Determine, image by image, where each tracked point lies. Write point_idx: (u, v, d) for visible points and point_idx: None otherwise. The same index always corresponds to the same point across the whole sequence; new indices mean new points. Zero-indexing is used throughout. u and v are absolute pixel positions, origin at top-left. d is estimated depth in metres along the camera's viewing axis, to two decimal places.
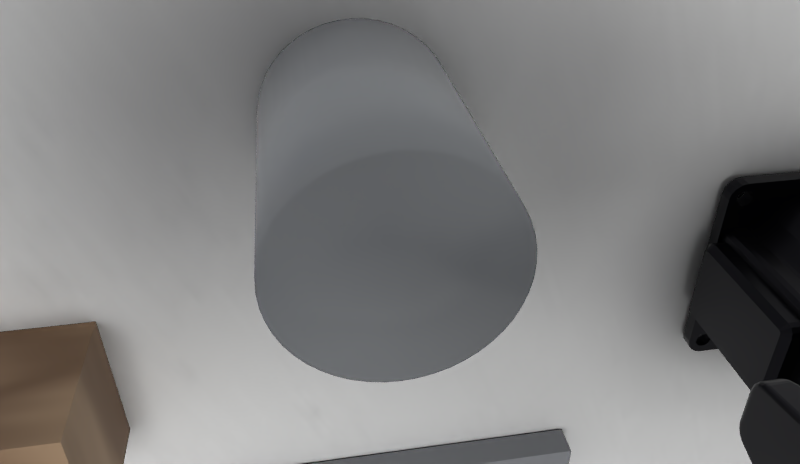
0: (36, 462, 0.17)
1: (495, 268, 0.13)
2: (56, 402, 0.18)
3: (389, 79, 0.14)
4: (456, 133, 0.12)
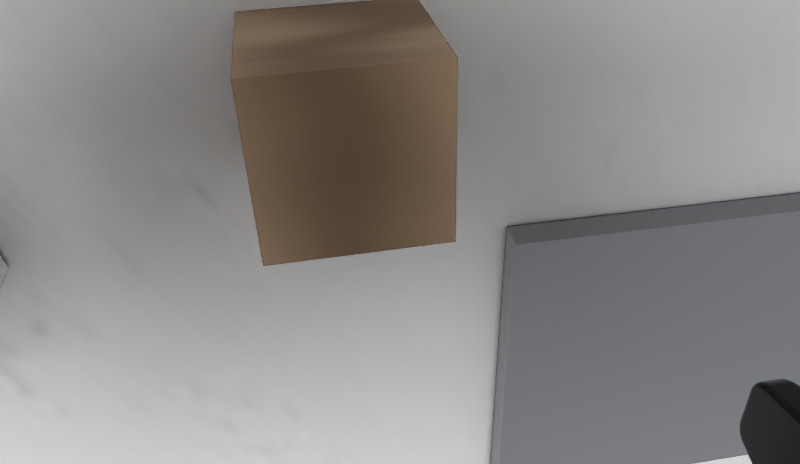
0: (423, 87, 0.15)
1: None
2: (425, 37, 0.15)
3: None
4: None
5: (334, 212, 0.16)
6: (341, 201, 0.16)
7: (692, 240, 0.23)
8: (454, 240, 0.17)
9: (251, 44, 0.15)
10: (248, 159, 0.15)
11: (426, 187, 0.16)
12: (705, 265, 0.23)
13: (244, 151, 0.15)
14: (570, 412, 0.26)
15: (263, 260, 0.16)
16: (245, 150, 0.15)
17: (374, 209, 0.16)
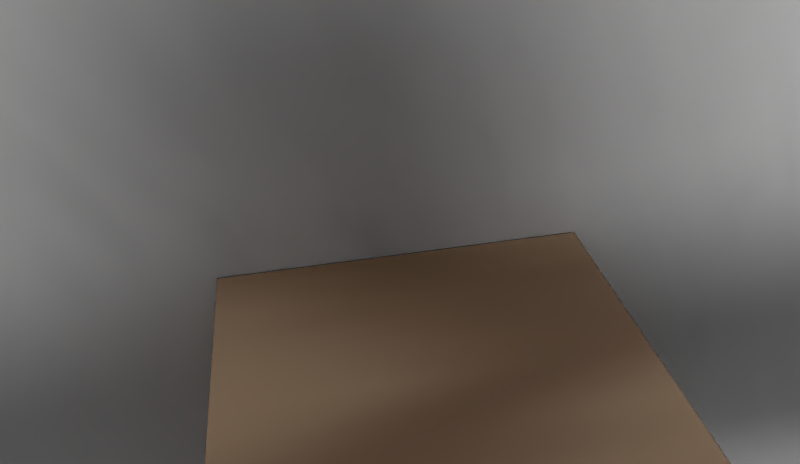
0: None
1: None
2: (660, 425, 0.07)
3: None
4: None
5: None
6: None
7: None
8: None
9: (250, 442, 0.07)
10: None
11: None
12: None
13: None
14: None
15: None
16: None
17: None
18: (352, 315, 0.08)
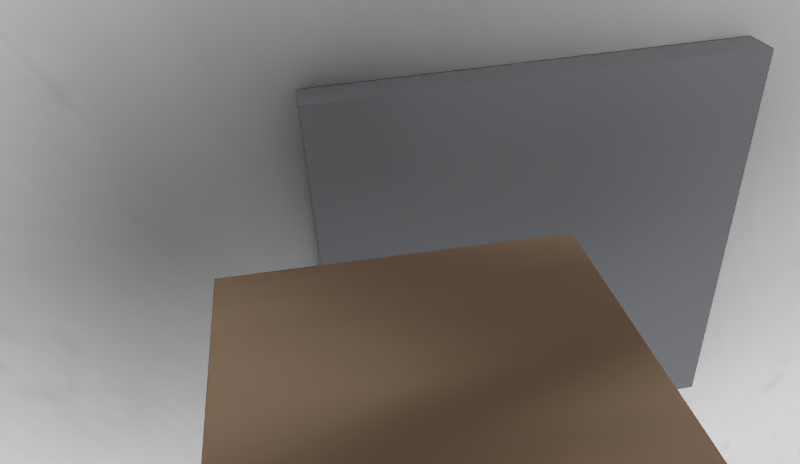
0: None
1: None
2: (657, 427, 0.07)
3: None
4: None
5: None
6: None
7: (536, 101, 0.18)
8: None
9: (246, 442, 0.07)
10: None
11: None
12: (559, 137, 0.18)
13: None
14: None
15: None
16: None
17: None
18: (349, 316, 0.08)
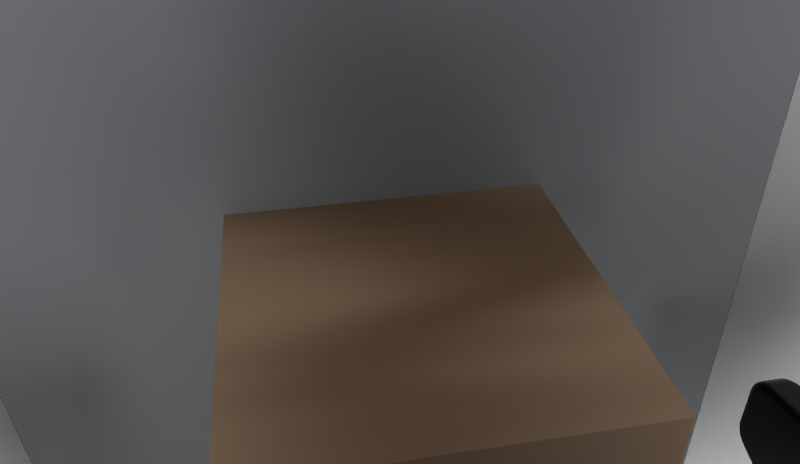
0: None
1: None
2: (600, 329, 0.08)
3: None
4: None
5: None
6: None
7: None
8: None
9: (253, 337, 0.08)
10: None
11: None
12: (415, 56, 0.09)
13: None
14: (189, 429, 0.12)
15: None
16: None
17: None
18: (342, 245, 0.09)
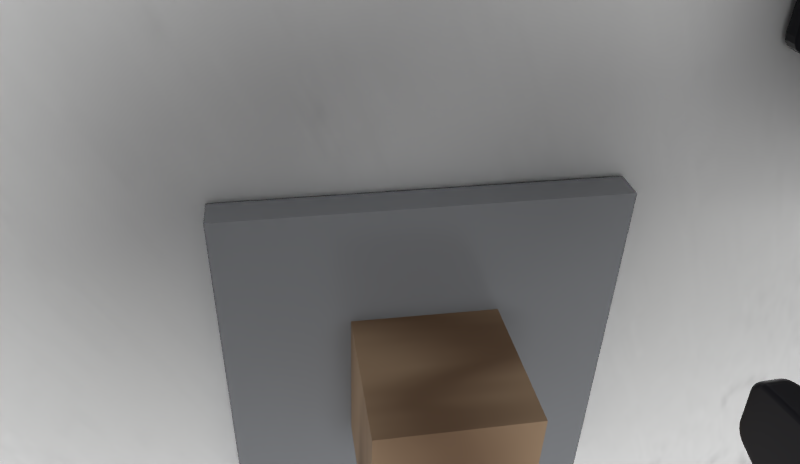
0: (518, 439, 0.18)
1: None
2: (517, 384, 0.19)
3: None
4: None
5: None
6: None
7: (422, 228, 0.20)
8: None
9: (377, 383, 0.19)
10: None
11: None
12: (444, 258, 0.21)
13: None
14: (315, 421, 0.23)
15: None
16: None
17: None
18: (407, 340, 0.21)
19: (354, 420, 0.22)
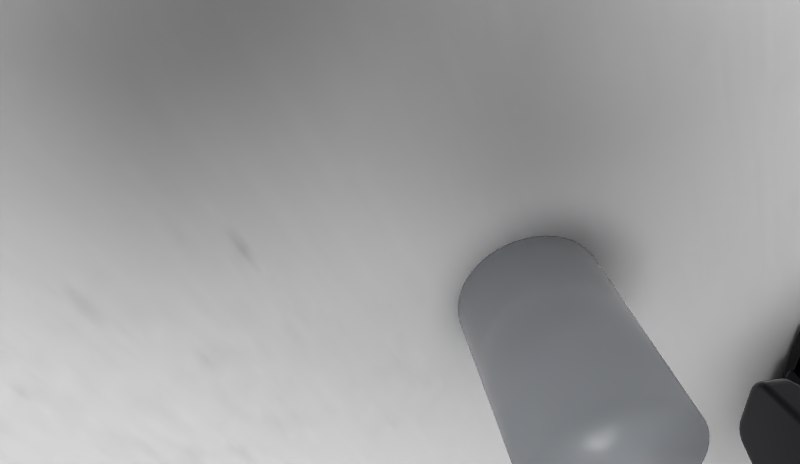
0: None
1: (680, 456, 0.19)
2: None
3: (594, 316, 0.20)
4: (655, 368, 0.18)
5: None
6: None
7: None
8: None
9: None
10: None
11: None
12: None
13: None
14: None
15: None
16: None
17: None
18: None
19: None
